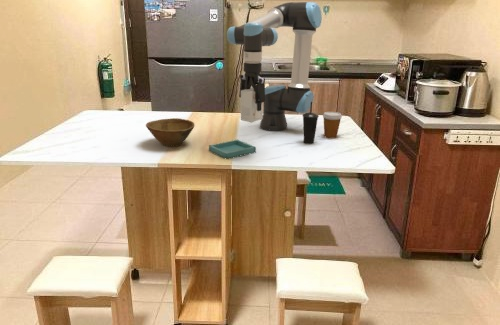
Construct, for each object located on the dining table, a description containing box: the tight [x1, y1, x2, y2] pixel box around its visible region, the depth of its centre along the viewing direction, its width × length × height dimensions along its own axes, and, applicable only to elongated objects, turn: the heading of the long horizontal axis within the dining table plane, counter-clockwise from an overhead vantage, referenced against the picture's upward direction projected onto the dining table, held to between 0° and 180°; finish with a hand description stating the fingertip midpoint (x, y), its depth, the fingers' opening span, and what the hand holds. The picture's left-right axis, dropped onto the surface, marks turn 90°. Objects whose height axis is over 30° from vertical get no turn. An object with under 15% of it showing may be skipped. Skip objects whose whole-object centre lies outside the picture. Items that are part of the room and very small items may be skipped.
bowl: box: [145, 117, 195, 147], centre depth 192 cm, size 22×23×10 cm
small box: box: [240, 87, 264, 123], centre depth 175 cm, size 8×6×13 cm
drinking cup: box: [302, 102, 319, 145], centre depth 196 cm, size 8×8×20 cm
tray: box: [208, 139, 257, 160], centre depth 183 cm, size 14×16×3 cm
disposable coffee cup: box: [322, 111, 343, 139], centre depth 208 cm, size 10×10×12 cm
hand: (251, 116), depth 176 cm, fingers closed on small box, 7 cm apart
